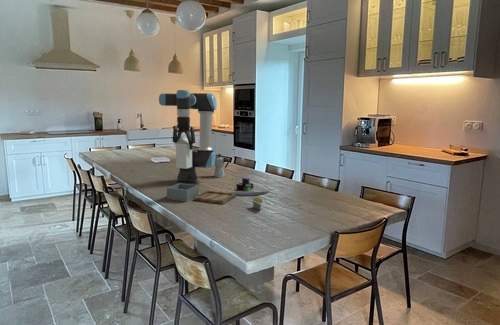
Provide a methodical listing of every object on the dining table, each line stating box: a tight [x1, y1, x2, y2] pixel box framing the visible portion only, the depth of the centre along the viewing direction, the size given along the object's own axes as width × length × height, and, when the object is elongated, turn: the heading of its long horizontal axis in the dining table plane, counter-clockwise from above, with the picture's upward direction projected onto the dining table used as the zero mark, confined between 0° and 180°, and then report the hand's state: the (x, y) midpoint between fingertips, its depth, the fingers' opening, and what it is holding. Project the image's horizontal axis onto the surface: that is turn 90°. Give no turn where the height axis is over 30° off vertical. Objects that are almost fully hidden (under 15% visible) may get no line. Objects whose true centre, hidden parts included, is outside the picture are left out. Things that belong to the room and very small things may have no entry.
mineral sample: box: [219, 177, 269, 197], centre depth 242 cm, size 35×35×9 cm
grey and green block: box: [250, 196, 265, 211], centre depth 199 cm, size 12×18×7 cm, turn 30°
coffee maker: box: [213, 153, 230, 178], centre depth 281 cm, size 15×9×18 cm, turn 68°
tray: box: [193, 190, 237, 205], centre depth 218 cm, size 20×18×2 cm
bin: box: [166, 182, 200, 202], centre depth 219 cm, size 14×14×7 cm
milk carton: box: [175, 135, 192, 169], centre depth 215 cm, size 7×7×19 cm
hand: (184, 154), depth 215 cm, fingers closed on milk carton, 7 cm apart
